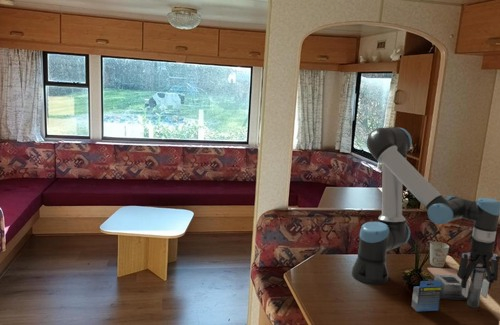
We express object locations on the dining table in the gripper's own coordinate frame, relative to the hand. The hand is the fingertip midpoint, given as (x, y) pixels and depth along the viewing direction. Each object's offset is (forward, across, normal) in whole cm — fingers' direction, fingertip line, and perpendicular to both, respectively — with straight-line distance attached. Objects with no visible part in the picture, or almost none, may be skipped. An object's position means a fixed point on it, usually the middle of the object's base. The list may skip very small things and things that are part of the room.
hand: (474, 295), depth 157 cm
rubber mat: (+4, +2, +26) cm, 26 cm away
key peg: (+4, 0, 0) cm, 4 cm away
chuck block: (+4, -4, +11) cm, 12 cm away
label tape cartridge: (+4, -20, -4) cm, 21 cm away
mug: (+4, +4, +39) cm, 39 cm away
